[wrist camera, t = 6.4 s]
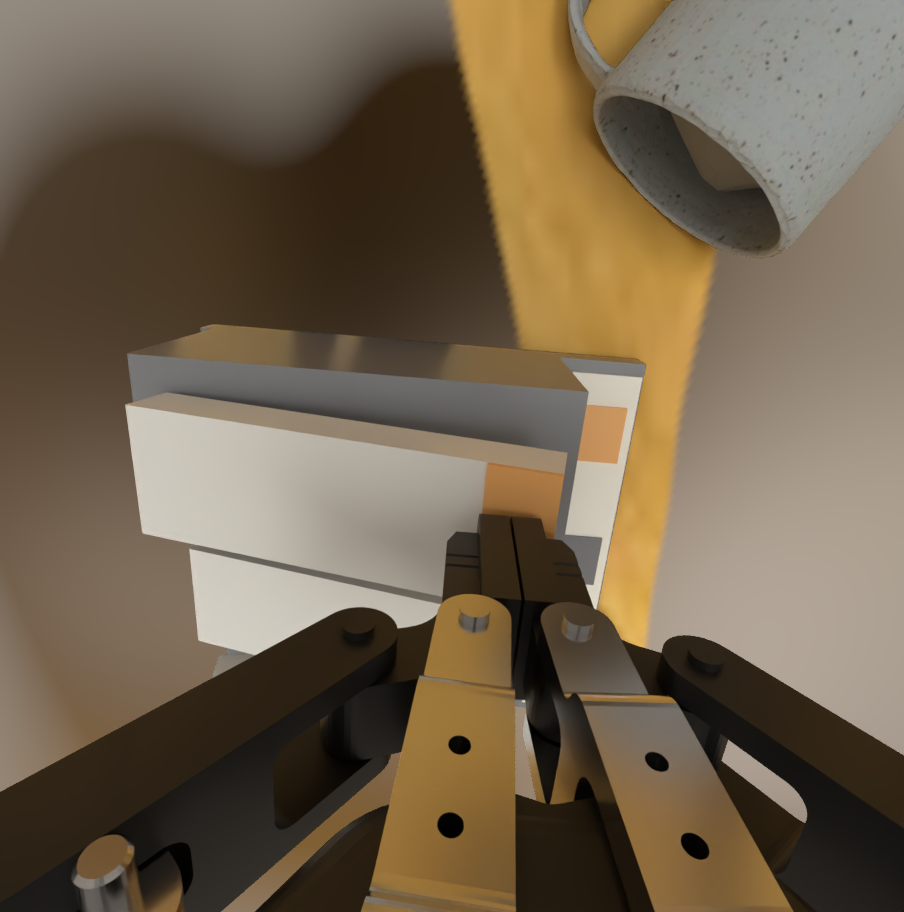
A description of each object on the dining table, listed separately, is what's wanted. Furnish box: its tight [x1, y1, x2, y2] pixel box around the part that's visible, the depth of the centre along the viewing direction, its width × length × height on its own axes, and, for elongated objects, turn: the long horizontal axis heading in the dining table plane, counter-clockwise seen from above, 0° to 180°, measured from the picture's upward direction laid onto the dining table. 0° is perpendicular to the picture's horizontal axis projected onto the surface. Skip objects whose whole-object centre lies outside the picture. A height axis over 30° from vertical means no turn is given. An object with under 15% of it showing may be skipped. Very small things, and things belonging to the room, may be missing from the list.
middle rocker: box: [189, 545, 442, 655], centre depth 20 cm, size 4×12×2 cm, turn 86°
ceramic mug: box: [568, 0, 904, 259], centre depth 16 cm, size 11×8×8 cm
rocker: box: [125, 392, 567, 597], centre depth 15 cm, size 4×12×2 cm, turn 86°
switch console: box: [127, 324, 646, 707], centre depth 23 cm, size 18×18×8 cm
